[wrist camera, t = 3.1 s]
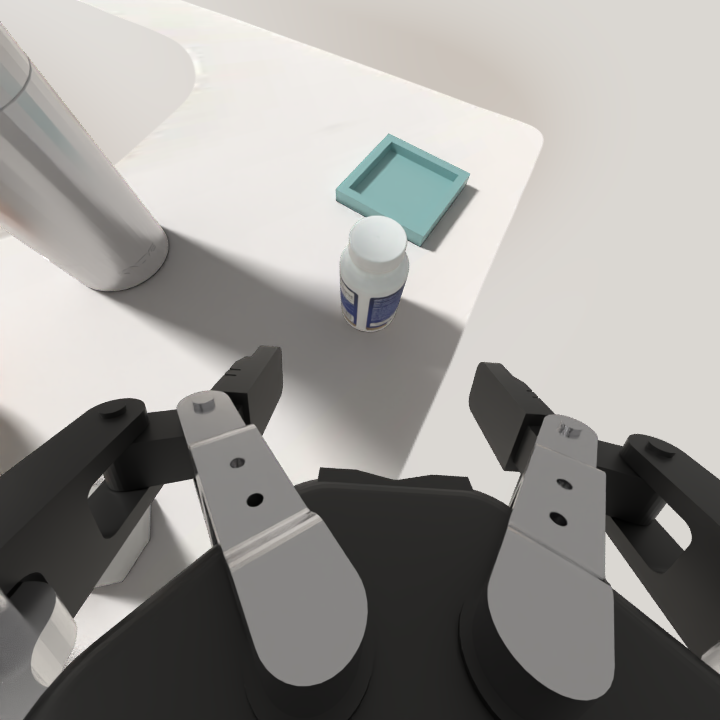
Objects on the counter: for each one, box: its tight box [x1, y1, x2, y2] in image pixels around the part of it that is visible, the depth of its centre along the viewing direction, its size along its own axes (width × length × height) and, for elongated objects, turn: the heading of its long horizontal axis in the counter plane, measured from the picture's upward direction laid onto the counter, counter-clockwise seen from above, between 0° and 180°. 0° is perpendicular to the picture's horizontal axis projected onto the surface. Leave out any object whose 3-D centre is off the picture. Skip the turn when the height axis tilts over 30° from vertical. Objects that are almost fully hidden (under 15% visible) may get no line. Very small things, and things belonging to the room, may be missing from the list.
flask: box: [88, 484, 151, 588], centre depth 17 cm, size 7×7×10 cm
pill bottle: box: [340, 216, 409, 332], centre depth 25 cm, size 5×5×10 cm
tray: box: [336, 134, 470, 247], centre depth 34 cm, size 11×11×2 cm
